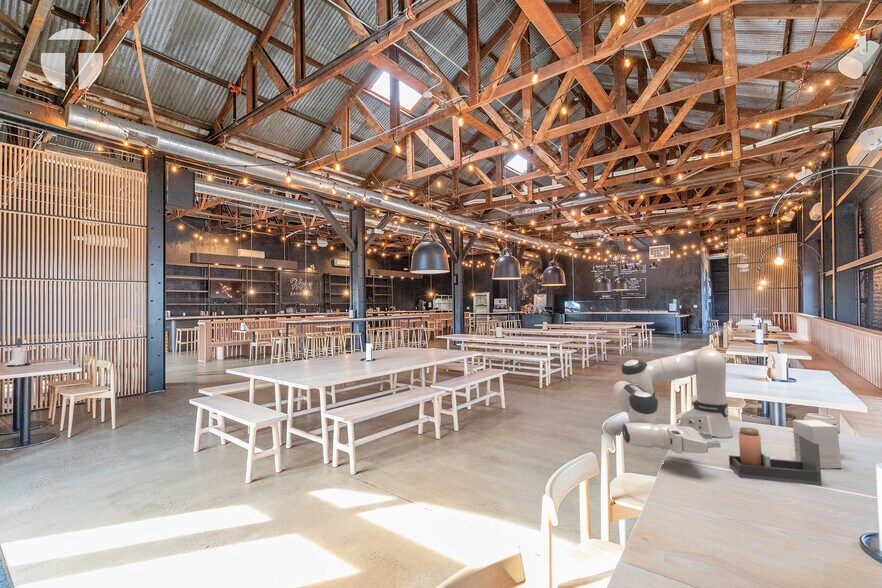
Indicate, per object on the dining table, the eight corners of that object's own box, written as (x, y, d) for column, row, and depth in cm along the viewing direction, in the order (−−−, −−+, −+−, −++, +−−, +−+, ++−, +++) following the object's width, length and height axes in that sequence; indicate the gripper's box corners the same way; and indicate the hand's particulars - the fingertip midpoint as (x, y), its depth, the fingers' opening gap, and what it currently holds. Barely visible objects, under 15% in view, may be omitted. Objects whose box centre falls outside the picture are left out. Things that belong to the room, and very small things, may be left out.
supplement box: (820, 460, 149) (817, 419, 149) (842, 469, 140) (839, 426, 141) (794, 459, 149) (791, 419, 150) (814, 468, 141) (811, 425, 141)
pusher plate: (766, 474, 133) (765, 456, 133) (757, 466, 140) (756, 449, 140) (770, 475, 133) (769, 456, 133) (761, 467, 140) (760, 449, 140)
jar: (738, 470, 138) (735, 429, 139) (743, 465, 142) (741, 426, 143) (759, 475, 133) (756, 433, 134) (765, 470, 137) (762, 429, 138)
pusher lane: (739, 477, 135) (737, 438, 135) (729, 466, 144) (727, 430, 145) (821, 485, 127) (818, 444, 128) (805, 473, 137) (802, 435, 137)
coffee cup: (847, 459, 149) (844, 418, 150) (821, 459, 149) (818, 419, 150) (823, 450, 158) (821, 412, 159) (799, 450, 159) (796, 412, 159)
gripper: (666, 437, 156) (707, 440, 151) (678, 455, 136) (725, 459, 132) (665, 421, 156) (706, 423, 151) (677, 436, 137) (724, 439, 132)
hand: (715, 440), depth 141 cm, fingers open, 8 cm apart
